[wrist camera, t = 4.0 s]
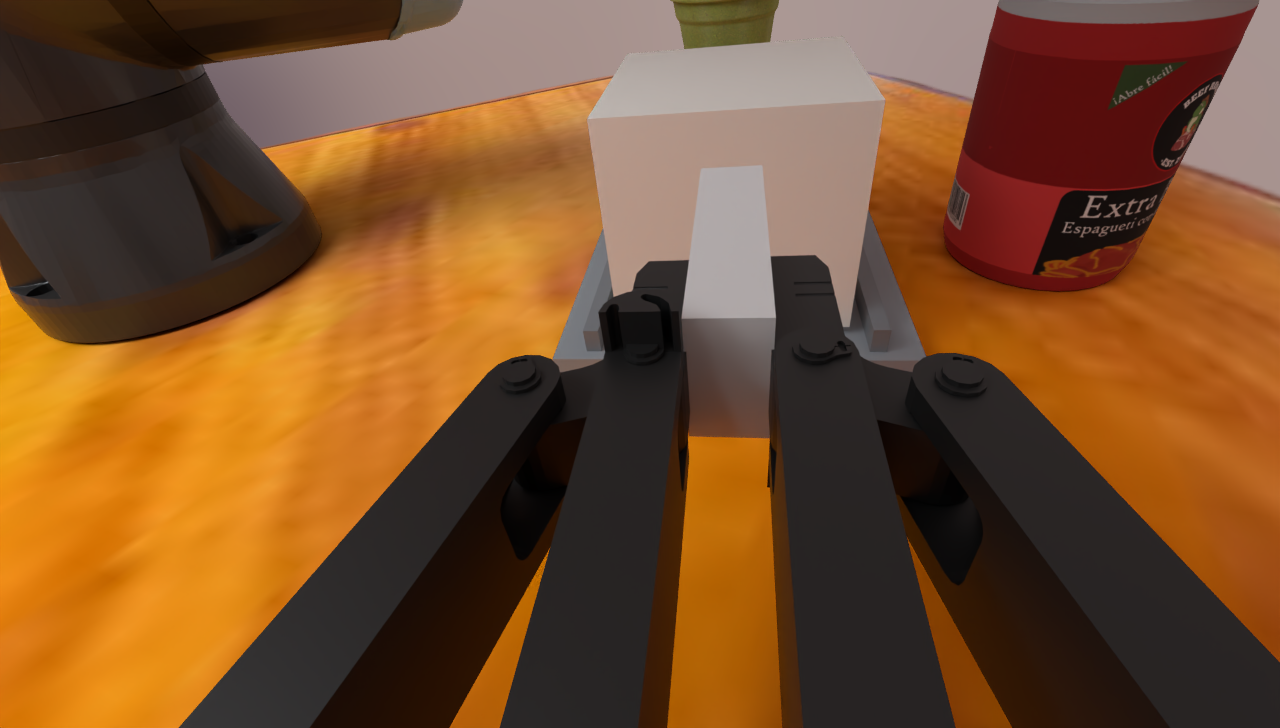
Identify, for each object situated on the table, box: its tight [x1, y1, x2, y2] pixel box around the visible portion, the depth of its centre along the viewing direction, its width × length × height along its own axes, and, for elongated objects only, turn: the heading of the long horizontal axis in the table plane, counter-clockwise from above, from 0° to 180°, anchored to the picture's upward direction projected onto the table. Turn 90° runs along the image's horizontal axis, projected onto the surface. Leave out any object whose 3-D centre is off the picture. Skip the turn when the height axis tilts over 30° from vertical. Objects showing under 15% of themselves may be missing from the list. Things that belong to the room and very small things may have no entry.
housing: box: [587, 36, 885, 327], centre depth 24 cm, size 9×9×8 cm
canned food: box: [943, 0, 1259, 291], centre depth 25 cm, size 8×8×11 cm
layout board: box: [553, 210, 926, 372], centre depth 31 cm, size 24×14×4 cm, turn 173°
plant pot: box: [671, 0, 779, 49], centre depth 49 cm, size 9×9×9 cm
